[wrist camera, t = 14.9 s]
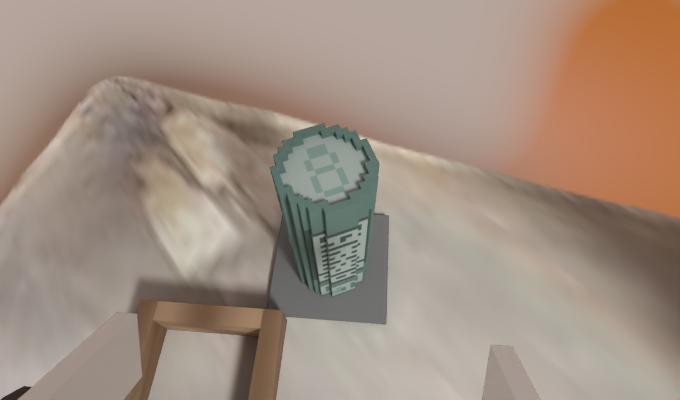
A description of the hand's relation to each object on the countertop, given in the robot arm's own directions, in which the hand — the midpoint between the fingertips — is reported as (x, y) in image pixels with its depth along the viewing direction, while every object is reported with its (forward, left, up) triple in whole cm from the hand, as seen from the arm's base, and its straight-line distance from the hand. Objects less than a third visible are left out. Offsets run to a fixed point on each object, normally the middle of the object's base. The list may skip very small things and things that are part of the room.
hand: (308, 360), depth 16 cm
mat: (+1, -12, -20) cm, 23 cm away
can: (+1, -11, -19) cm, 22 cm away
